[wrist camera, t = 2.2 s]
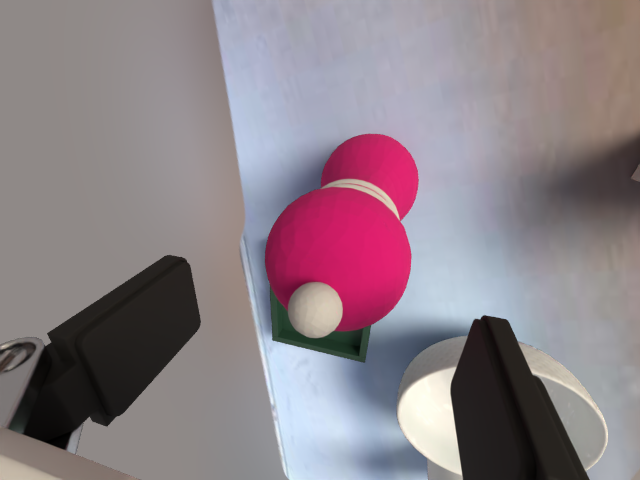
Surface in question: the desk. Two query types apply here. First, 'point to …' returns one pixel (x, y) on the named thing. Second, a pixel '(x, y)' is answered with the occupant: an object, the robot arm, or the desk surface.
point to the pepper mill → (346, 239)
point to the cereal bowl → (437, 414)
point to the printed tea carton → (636, 174)
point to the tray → (333, 343)
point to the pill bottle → (440, 472)
